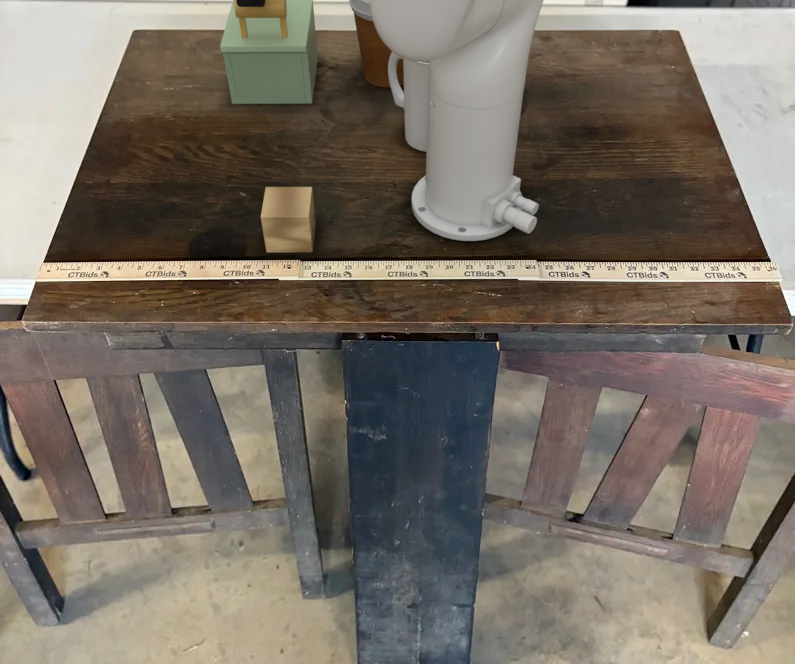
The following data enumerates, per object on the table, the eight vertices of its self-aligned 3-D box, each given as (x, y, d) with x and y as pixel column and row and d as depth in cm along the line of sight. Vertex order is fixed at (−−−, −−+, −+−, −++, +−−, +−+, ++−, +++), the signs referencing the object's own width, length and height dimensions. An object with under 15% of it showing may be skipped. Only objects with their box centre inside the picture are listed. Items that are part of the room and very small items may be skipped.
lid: (306, 51, 99) (302, 6, 94) (220, 52, 99) (212, 6, 94) (313, 4, 107) (309, -40, 103) (234, 4, 107) (227, -39, 103)
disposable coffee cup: (348, 92, 107) (343, 5, 98) (356, 56, 113) (353, -29, 104) (419, 95, 106) (421, 8, 97) (423, 58, 113) (425, -27, 104)
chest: (312, 103, 105) (307, 48, 99) (231, 104, 105) (222, 49, 99) (317, 58, 113) (313, 4, 107) (242, 58, 113) (234, 5, 107)
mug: (468, 136, 100) (474, 46, 91) (434, 160, 97) (437, 70, 88) (406, 107, 105) (406, 19, 96) (372, 130, 101) (369, 41, 92)
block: (315, 222, 89) (312, 186, 85) (312, 252, 86) (308, 216, 82) (271, 222, 89) (265, 186, 85) (266, 252, 86) (260, 217, 82)
